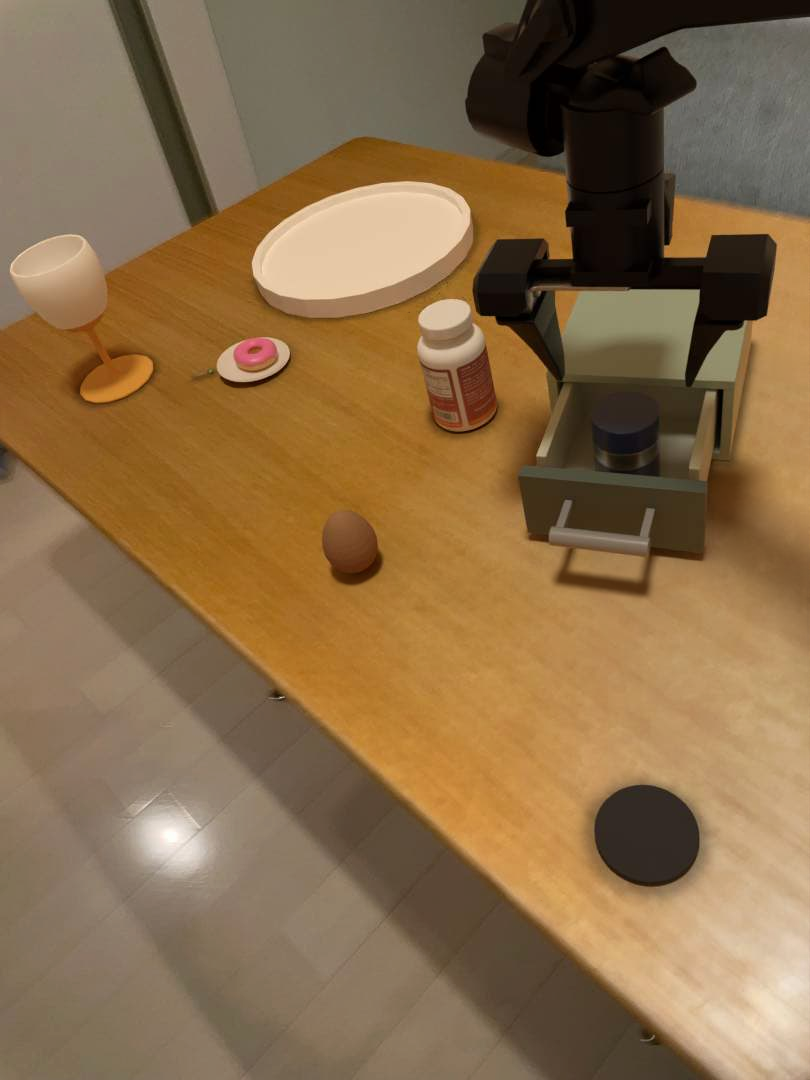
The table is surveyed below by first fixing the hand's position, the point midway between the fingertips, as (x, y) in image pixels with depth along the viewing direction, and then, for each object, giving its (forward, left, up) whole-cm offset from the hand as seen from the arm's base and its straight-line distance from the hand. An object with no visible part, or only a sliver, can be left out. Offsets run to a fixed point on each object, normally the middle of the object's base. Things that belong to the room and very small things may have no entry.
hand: (623, 380), depth 62 cm
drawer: (0, +1, -11) cm, 11 cm away
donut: (+45, -14, -12) cm, 48 cm away
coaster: (-7, +28, -12) cm, 31 cm away
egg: (+20, +11, -12) cm, 26 cm away
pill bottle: (+17, -9, -12) cm, 22 cm away
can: (0, 0, -10) cm, 10 cm away
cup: (+61, -11, -12) cm, 63 cm away
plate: (+40, -38, -12) cm, 56 cm away
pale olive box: (0, -13, -12) cm, 17 cm away
